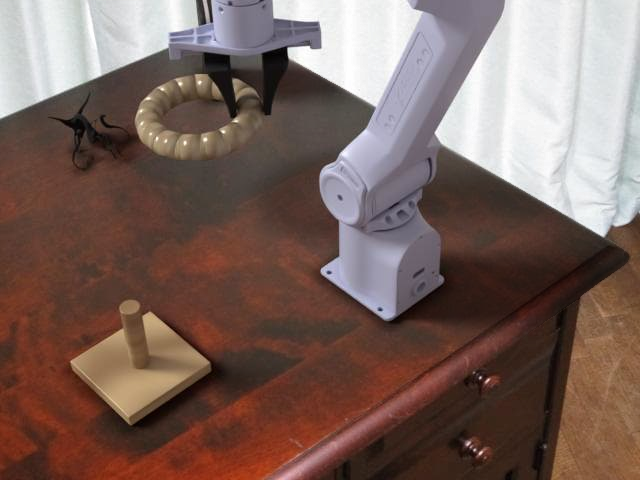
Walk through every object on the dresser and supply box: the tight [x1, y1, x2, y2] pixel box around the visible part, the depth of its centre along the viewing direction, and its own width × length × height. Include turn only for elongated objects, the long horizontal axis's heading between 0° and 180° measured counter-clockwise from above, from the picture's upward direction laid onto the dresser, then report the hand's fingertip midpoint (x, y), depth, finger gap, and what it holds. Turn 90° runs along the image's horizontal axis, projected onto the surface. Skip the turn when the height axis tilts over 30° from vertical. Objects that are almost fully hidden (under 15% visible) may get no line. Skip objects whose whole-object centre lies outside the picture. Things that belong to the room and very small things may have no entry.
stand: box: [69, 299, 212, 426], centre depth 101 cm, size 9×9×8 cm
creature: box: [47, 91, 130, 170], centre depth 127 cm, size 8×5×8 cm
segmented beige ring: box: [134, 73, 264, 162], centre depth 115 cm, size 13×13×3 cm
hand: (250, 111), depth 115 cm, fingers closed on segmented beige ring, 3 cm apart
